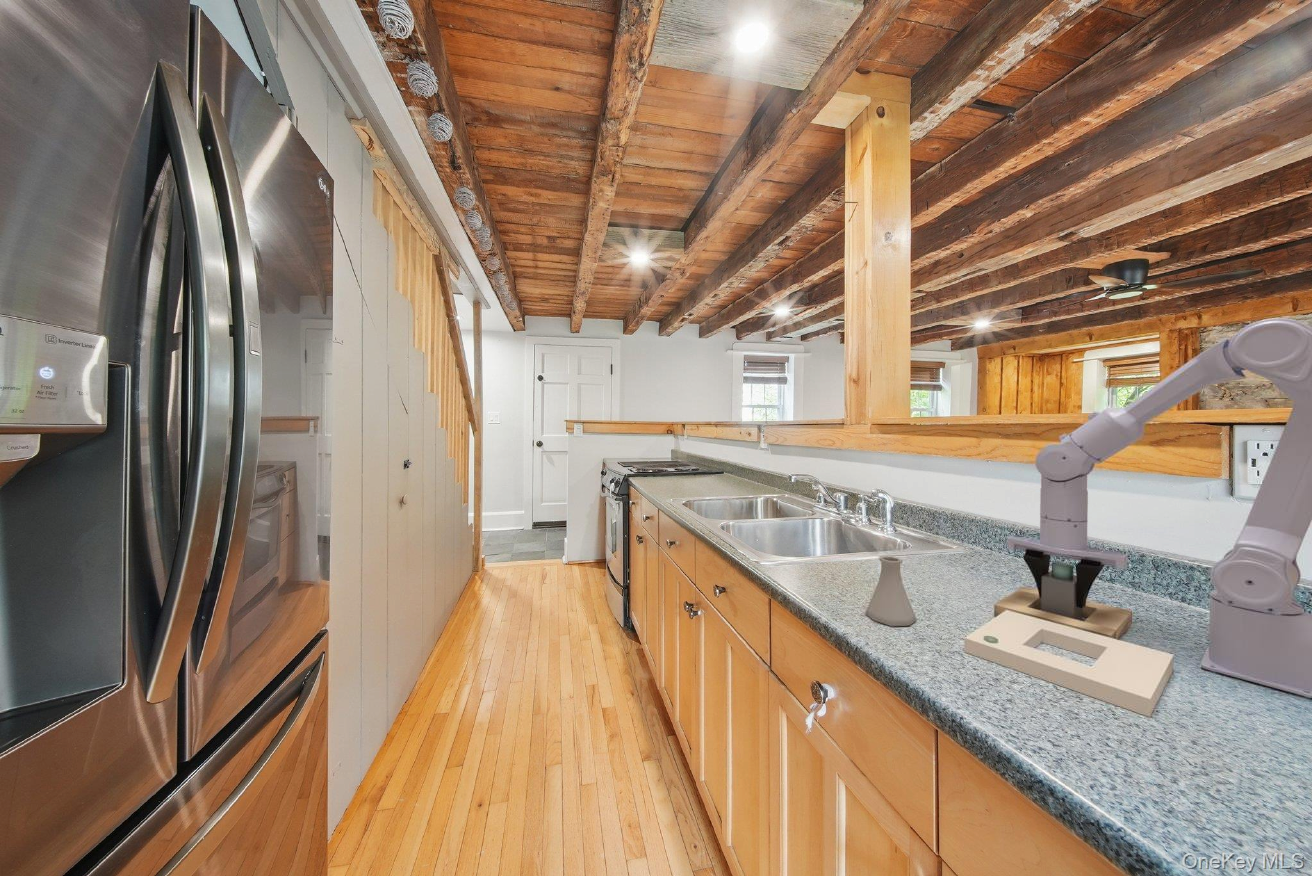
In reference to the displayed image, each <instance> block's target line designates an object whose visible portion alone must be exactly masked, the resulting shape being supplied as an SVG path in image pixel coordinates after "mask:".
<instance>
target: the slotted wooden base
mask: <svg viewBox="0 0 1312 876" xmlns="http://www.w3.org/2000/svg"><path fill="white" fill-rule="evenodd" d="M993 605H994V607H993V608H994V609H993V613H994V614H993V618H995V617H997V616H998V615H1000V614H1001V613H1003V612H1004V611H1006V610H1009V611H1012V612H1016V613H1020V614H1023V615H1027V616H1031V617H1035V618H1038V619H1042V620H1046V621H1050V622H1053V623H1057V624H1061V625H1064V626H1068V627H1072V628H1076V629H1079V630H1083V631H1087V632H1091V633H1094V634H1098V635H1102V636H1106V637H1109V638H1113V639H1117V640H1121V638H1122V637H1123V635H1124V634H1125V633H1126V632H1127V630H1128V629H1129V628H1130V627H1131V625H1132V624H1133V610H1129V609H1125V608H1121V607H1116V606H1112V605H1108V604H1104V603H1103V604H1102V603H1099V602H1094V601H1090V600H1086V605H1085V606H1084V607H1083V615H1082V618H1083V619H1084V618H1085V620H1084V621H1083V620H1082V621H1080V620H1076V619H1072V618H1068V617H1064V616H1060V615H1056V614H1052V613H1049V612H1045V611H1041V598H1039V592H1038V588H1032V587H1029V586H1024V585H1023V586H1022V587H1019V588H1018V589H1017V590H1015V591H1014V592H1012V593H1011V594H1009V595H1008V596H1006V597H1004V598H1002V599H1001V600H999V601H998V602H996V603H994V604H993Z"/></svg>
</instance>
